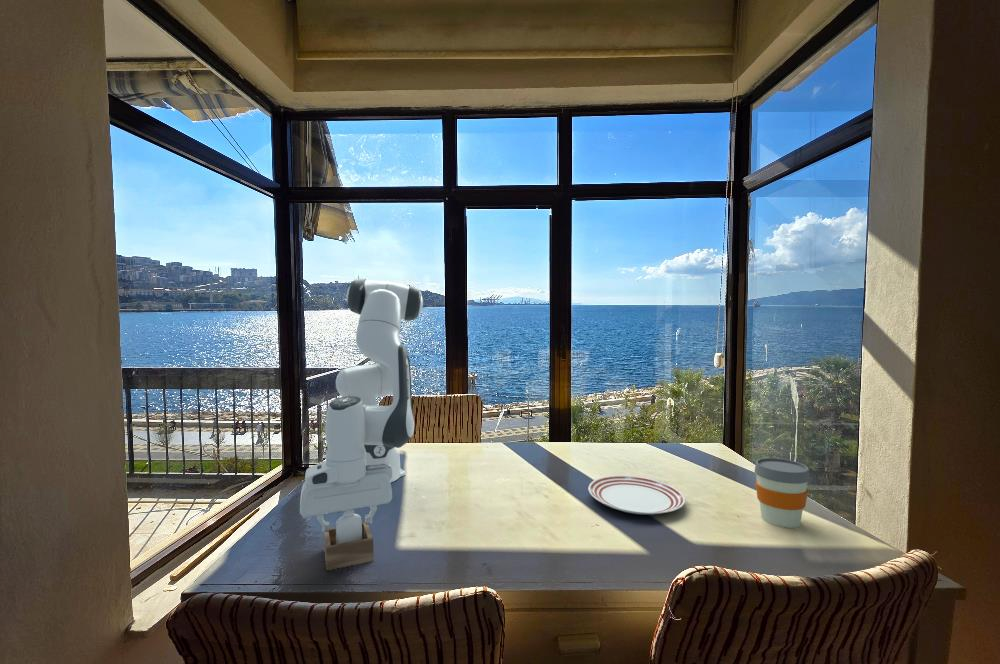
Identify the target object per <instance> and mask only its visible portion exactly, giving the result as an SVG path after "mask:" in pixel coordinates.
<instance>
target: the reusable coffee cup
mask: <svg viewBox="0 0 1000 664" xmlns="http://www.w3.org/2000/svg"><path fill="white" fill-rule="evenodd" d="M754 473H755V477H756V480H755V489H756V496H757V497H756V498H757V500H758V501H759V508H760V517H761V519H762V520H763V522H764V521H765V522H766V523H768V524H770V525H773V526H776V527H782V528H787V529H788V528H791V529H793V528H798V527H799V526H800V525H801V521H802V518H803V517H802V516H803V510H804V509H805V508H806V504H807V500H808V493H809V489H808V482H809V481H810V470H809V467H808V466H807V465H806V464H803V463H801V462H799V461H794V460H790V459H785V458H779V457H762V458H757V459H756V461H755V466H754Z"/></svg>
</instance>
